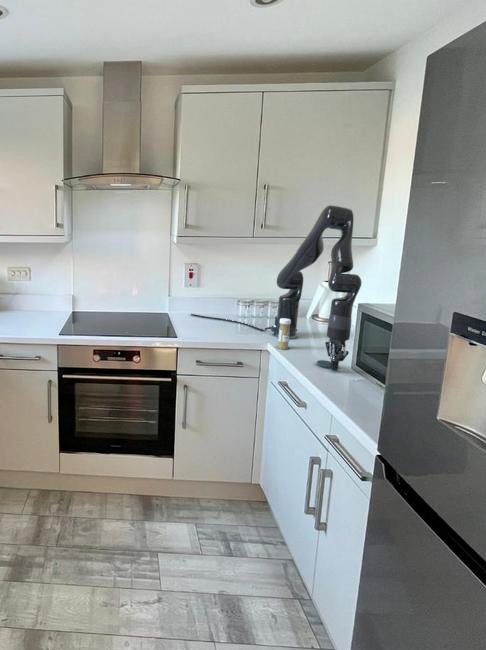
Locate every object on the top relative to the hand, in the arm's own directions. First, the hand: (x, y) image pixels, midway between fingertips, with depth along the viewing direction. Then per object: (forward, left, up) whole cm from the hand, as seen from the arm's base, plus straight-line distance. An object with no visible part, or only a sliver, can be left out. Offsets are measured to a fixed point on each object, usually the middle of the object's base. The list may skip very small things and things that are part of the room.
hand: (333, 369), depth 161 cm
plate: (-4, +4, -1) cm, 6 cm away
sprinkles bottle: (-27, +12, -1) cm, 30 cm away
